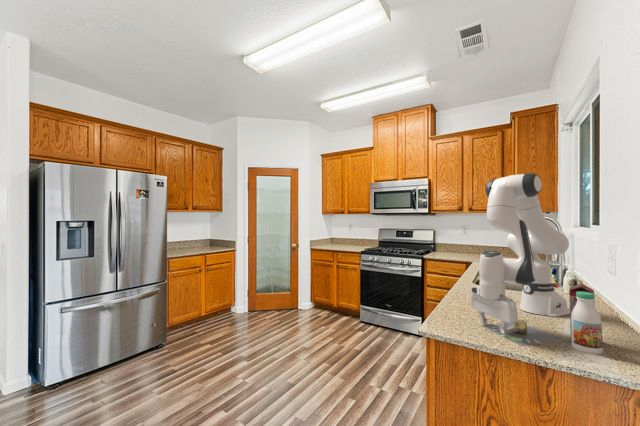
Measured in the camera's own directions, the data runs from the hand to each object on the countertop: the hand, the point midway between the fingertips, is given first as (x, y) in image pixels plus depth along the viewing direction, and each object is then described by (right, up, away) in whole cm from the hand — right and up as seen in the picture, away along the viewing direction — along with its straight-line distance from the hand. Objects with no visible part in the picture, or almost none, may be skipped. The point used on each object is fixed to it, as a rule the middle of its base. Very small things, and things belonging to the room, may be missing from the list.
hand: (493, 326), depth 114 cm
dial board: (+9, -2, -3) cm, 9 cm away
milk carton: (+28, -2, -9) cm, 29 cm away
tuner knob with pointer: (+5, -1, -5) cm, 7 cm away
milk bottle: (+21, -2, -17) cm, 27 cm away
